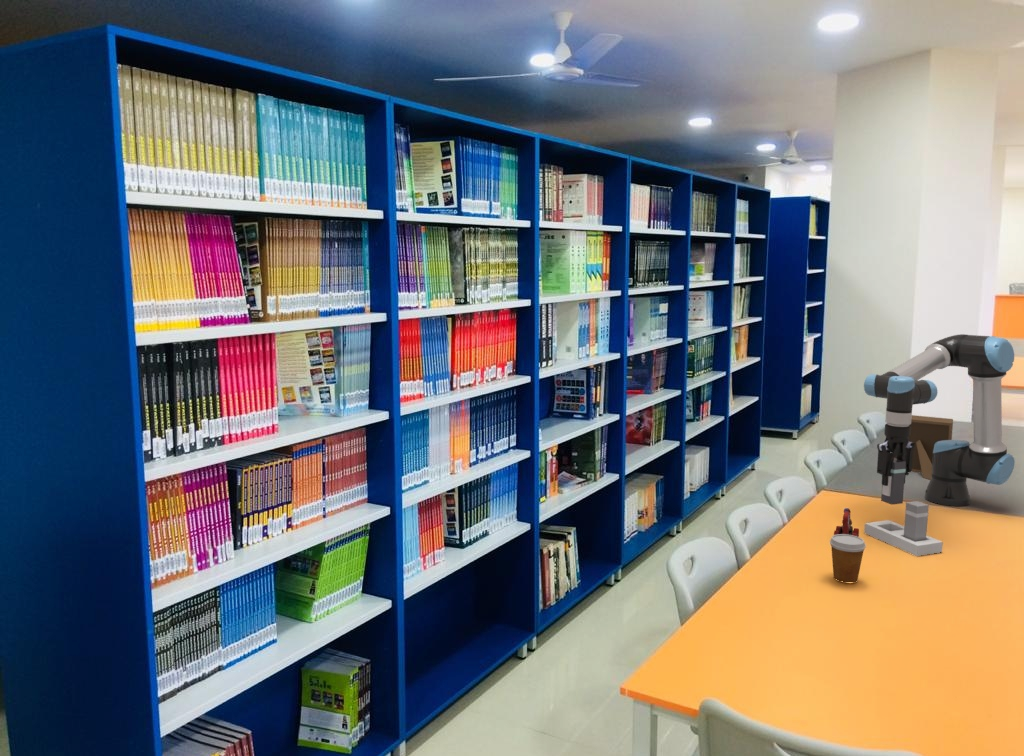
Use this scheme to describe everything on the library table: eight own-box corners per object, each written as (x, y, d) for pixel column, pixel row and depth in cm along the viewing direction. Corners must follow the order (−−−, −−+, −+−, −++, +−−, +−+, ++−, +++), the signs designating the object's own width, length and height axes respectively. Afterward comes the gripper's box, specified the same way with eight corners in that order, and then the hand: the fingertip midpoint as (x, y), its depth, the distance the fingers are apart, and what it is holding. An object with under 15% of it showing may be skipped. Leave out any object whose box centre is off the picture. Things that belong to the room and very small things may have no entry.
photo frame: (893, 466, 346) (897, 411, 342) (949, 473, 334) (954, 416, 330) (888, 475, 333) (892, 417, 329) (946, 482, 322) (951, 423, 318)
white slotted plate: (888, 529, 266) (888, 520, 265) (941, 552, 245) (942, 542, 245) (864, 533, 263) (865, 523, 262) (916, 556, 242) (917, 545, 242)
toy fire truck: (859, 537, 259) (861, 506, 258) (855, 549, 249) (857, 517, 247) (836, 533, 263) (838, 503, 261) (832, 545, 252) (834, 514, 250)
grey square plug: (914, 542, 252) (917, 500, 250) (925, 547, 248) (929, 505, 246) (902, 544, 251) (905, 502, 249) (914, 549, 246) (917, 506, 244)
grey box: (892, 499, 260) (895, 458, 258) (902, 503, 255) (906, 461, 253) (880, 500, 258) (884, 459, 256) (891, 504, 254) (894, 462, 252)
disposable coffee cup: (847, 588, 219) (850, 547, 217) (820, 576, 227) (822, 536, 226) (870, 582, 223) (873, 541, 222) (843, 570, 232) (845, 531, 230)
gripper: (910, 420, 259) (904, 488, 263) (867, 423, 254) (862, 493, 257) (928, 424, 252) (922, 495, 256) (884, 428, 247) (879, 499, 250)
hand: (892, 494), depth 256 cm, fingers closed on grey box, 4 cm apart
